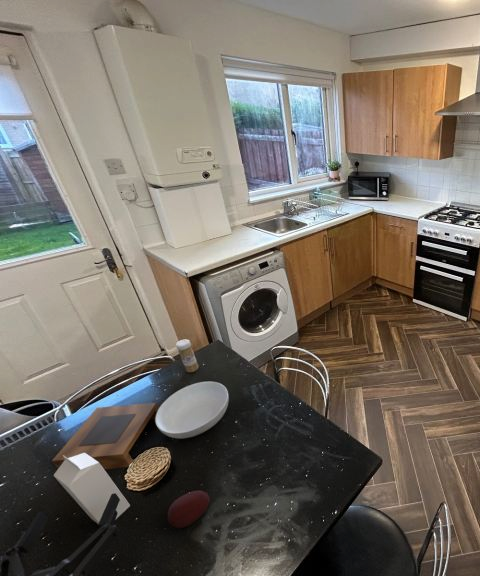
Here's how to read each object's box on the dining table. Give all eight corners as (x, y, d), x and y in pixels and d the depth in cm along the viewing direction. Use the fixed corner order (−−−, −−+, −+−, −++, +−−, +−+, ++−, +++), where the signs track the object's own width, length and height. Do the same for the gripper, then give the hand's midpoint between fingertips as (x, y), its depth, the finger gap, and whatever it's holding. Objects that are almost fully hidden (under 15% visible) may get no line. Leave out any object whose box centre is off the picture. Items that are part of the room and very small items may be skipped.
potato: (175, 506, 81) (167, 493, 78) (213, 493, 83) (207, 481, 81) (169, 538, 75) (160, 526, 72) (210, 523, 77) (203, 511, 74)
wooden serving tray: (62, 473, 88) (51, 460, 85) (104, 419, 103) (96, 407, 100) (130, 466, 90) (122, 454, 87) (162, 414, 105) (156, 402, 102)
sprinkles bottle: (188, 374, 122) (178, 348, 115) (184, 369, 124) (173, 342, 118) (201, 368, 125) (191, 342, 118) (196, 363, 127) (186, 337, 121)
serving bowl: (242, 395, 113) (238, 381, 110) (214, 448, 95) (208, 434, 91) (186, 393, 113) (180, 380, 110) (146, 447, 95) (138, 432, 92)
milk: (116, 495, 83) (78, 443, 72) (131, 505, 81) (93, 453, 70) (90, 519, 78) (45, 466, 67) (104, 530, 76) (60, 478, 65)
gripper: (-70, 677, 51) (20, 531, 69) (109, 617, 57) (149, 498, 75) (-105, 664, 47) (0, 514, 65) (91, 601, 54) (138, 480, 71)
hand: (80, 505), depth 70 cm, fingers open, 13 cm apart
